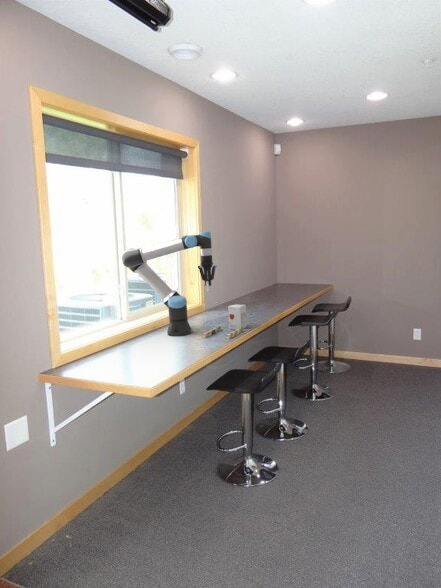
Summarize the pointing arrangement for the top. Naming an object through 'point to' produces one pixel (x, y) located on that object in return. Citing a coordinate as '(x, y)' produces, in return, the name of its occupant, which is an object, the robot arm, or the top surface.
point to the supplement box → (237, 316)
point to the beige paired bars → (220, 329)
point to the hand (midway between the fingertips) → (208, 290)
